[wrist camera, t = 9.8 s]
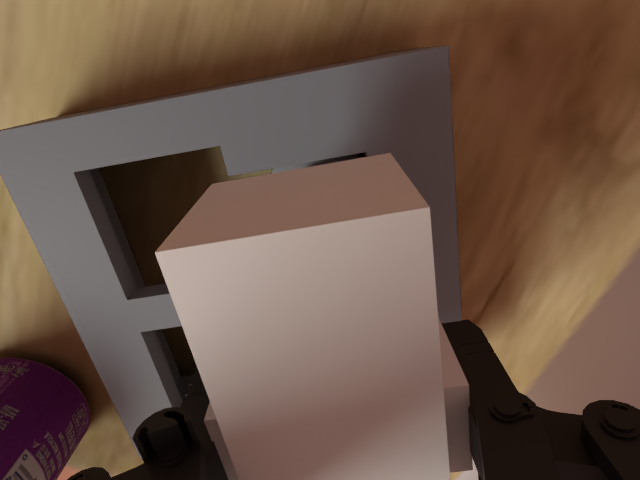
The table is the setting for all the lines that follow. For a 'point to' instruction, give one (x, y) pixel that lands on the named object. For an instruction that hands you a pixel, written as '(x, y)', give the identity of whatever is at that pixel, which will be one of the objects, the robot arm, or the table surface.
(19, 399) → the beverage can
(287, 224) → the bar
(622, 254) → the table surface
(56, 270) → the keyhole board
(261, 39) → the table surface
